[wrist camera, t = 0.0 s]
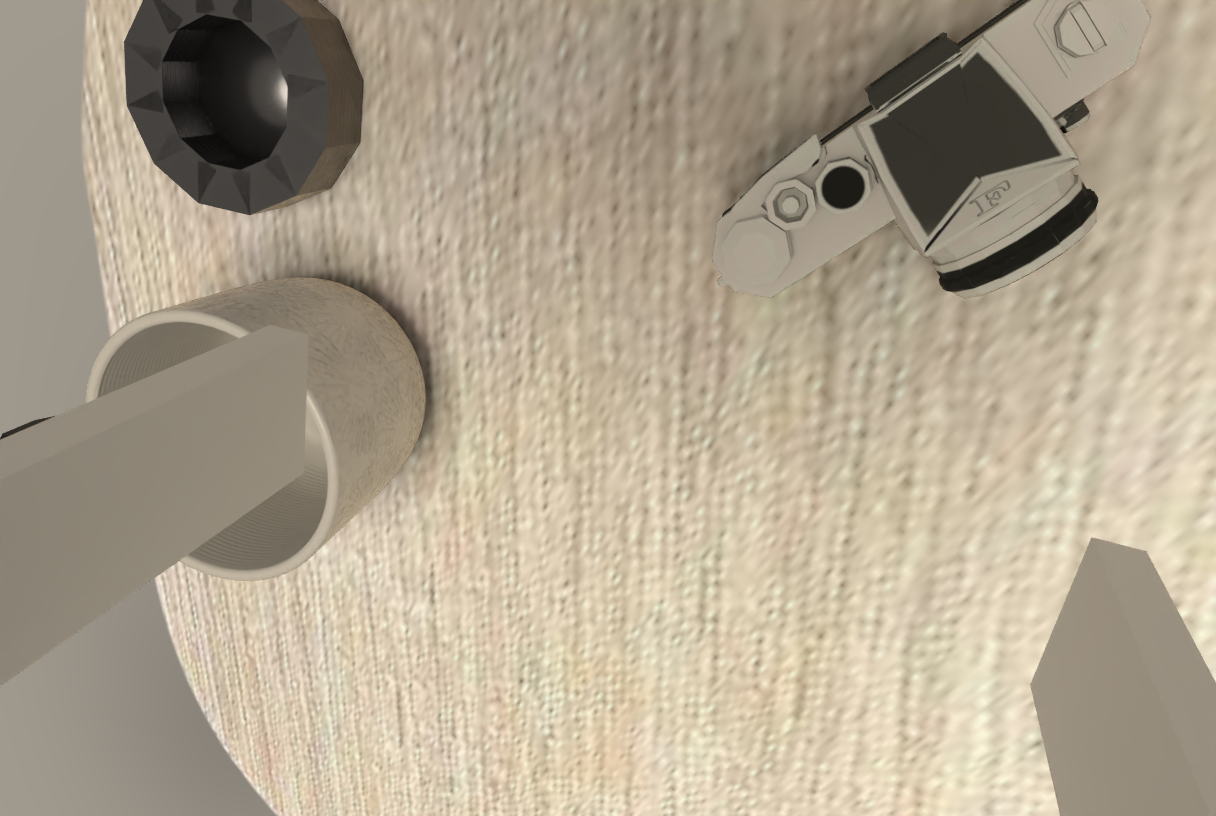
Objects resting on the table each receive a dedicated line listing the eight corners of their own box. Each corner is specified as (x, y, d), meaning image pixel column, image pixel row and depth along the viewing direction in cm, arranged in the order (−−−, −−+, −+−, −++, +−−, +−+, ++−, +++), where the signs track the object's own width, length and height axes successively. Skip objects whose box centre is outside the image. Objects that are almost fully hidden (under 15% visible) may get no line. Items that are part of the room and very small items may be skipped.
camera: (816, 358, 42) (797, 438, 33) (708, 199, 41) (657, 237, 32) (1176, 144, 35) (1274, 172, 26) (1058, -52, 34) (1118, -93, 25)
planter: (320, 206, 46) (166, 246, 36) (497, 384, 47) (393, 470, 37) (202, 366, 52) (40, 438, 42) (362, 524, 52) (240, 631, 42)
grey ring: (167, -44, 44) (120, -51, 41) (368, -9, 42) (332, -14, 39) (172, 180, 48) (130, 186, 45) (355, 222, 46) (322, 232, 43)
